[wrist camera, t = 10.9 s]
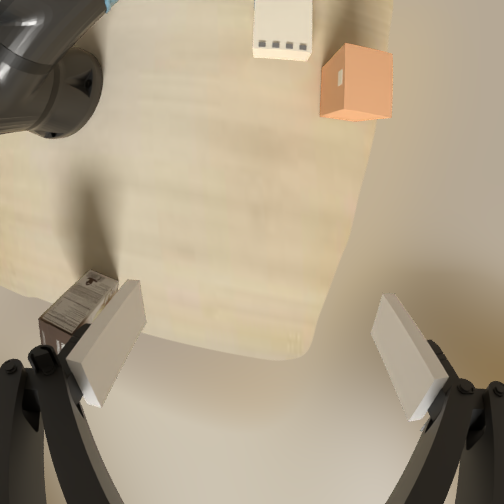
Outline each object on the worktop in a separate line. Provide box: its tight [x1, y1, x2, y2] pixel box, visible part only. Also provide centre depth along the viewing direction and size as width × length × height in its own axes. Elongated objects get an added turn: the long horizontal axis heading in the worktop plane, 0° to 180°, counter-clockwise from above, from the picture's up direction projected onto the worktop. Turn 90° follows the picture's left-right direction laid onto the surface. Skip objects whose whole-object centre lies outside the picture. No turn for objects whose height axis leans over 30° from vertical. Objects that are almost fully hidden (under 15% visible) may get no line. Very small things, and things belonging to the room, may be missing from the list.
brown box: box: [320, 43, 393, 122], centre depth 28 cm, size 5×7×12 cm
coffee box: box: [38, 270, 118, 355], centre depth 40 cm, size 9×6×16 cm
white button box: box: [253, 0, 312, 61], centre depth 27 cm, size 7×12×5 cm, turn 178°
